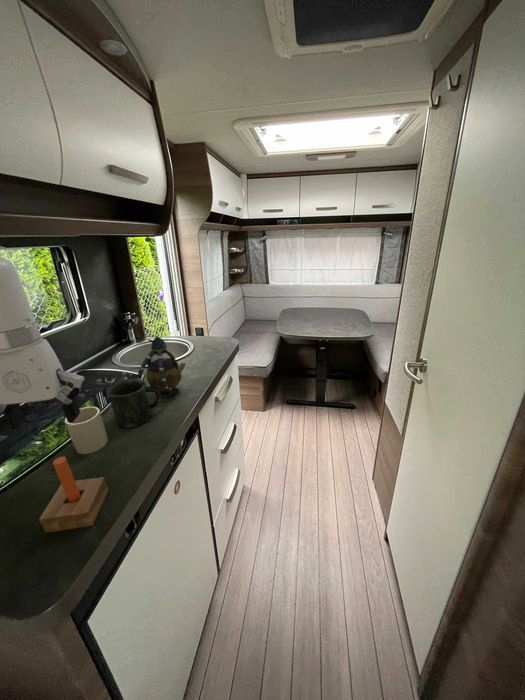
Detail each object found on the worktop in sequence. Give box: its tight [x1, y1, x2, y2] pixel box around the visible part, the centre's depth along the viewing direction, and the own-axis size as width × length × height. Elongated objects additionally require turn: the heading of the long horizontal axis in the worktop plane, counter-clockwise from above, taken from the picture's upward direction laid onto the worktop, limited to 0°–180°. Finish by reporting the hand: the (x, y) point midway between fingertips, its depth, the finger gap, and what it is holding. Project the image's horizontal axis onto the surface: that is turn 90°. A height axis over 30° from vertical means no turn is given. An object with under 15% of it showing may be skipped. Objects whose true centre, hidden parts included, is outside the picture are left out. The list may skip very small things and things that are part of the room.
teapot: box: [136, 336, 186, 402], centre depth 103 cm, size 12×25×23 cm, turn 171°
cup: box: [64, 406, 109, 455], centre depth 78 cm, size 8×8×10 cm
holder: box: [38, 476, 109, 534], centre depth 60 cm, size 9×9×4 cm
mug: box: [105, 378, 160, 429], centre depth 89 cm, size 11×15×12 cm
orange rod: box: [52, 456, 81, 503], centre depth 58 cm, size 2×2×14 cm
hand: (47, 421), depth 53 cm, fingers open, 9 cm apart
